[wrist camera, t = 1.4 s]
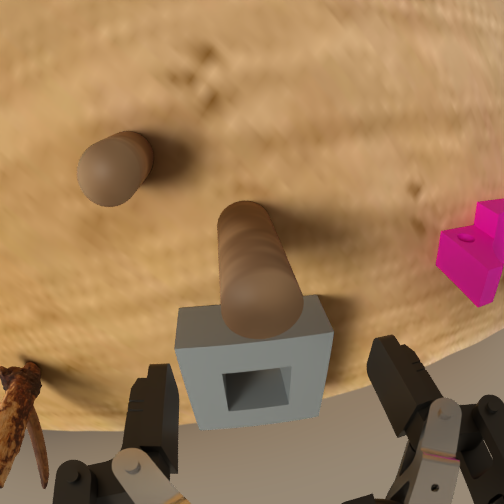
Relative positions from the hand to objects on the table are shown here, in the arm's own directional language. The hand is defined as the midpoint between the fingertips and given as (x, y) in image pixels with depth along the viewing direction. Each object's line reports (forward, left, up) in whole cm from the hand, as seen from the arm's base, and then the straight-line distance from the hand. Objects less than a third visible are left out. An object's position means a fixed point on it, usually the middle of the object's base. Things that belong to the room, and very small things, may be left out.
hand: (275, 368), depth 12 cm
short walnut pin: (+8, -6, -14) cm, 17 cm away
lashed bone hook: (+26, +16, -14) cm, 34 cm away
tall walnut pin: (0, 0, -14) cm, 14 cm away
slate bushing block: (0, +13, -14) cm, 19 cm away
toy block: (-26, +2, -14) cm, 30 cm away
